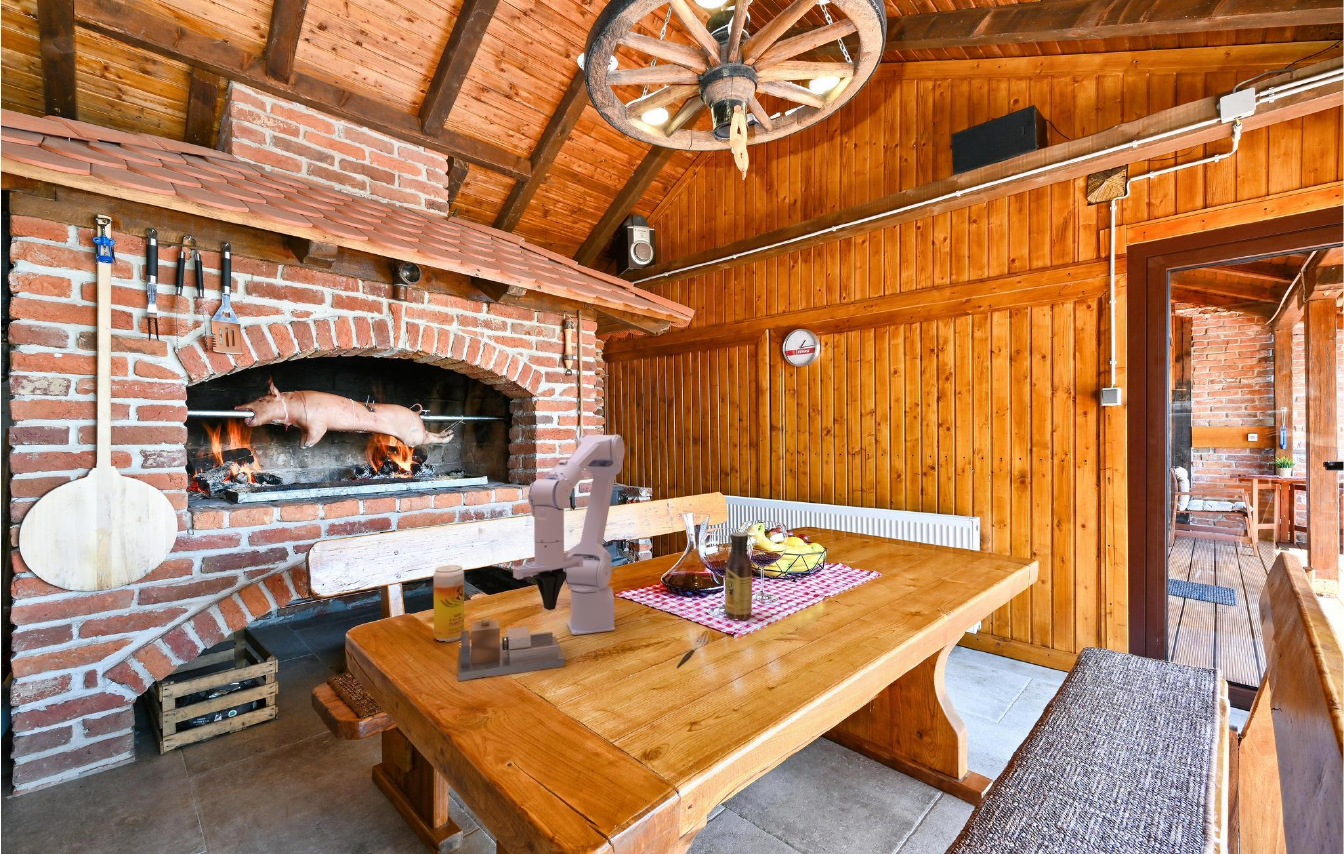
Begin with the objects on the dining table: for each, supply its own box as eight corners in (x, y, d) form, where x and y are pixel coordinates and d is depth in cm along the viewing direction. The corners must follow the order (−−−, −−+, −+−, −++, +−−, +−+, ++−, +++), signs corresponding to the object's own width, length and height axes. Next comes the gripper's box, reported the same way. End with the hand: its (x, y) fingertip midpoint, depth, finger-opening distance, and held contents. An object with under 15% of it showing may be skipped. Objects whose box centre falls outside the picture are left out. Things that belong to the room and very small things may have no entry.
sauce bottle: (723, 613, 143) (723, 530, 143) (748, 612, 144) (748, 530, 143) (728, 622, 137) (728, 536, 136) (754, 621, 137) (754, 535, 137)
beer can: (454, 644, 124) (453, 572, 124) (428, 641, 125) (427, 570, 125) (469, 633, 130) (469, 565, 130) (444, 631, 131) (444, 563, 131)
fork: (670, 669, 112) (670, 658, 112) (698, 639, 127) (698, 630, 127) (683, 671, 111) (683, 660, 111) (710, 641, 126) (710, 632, 126)
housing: (498, 649, 117) (498, 613, 117) (499, 659, 112) (499, 621, 112) (471, 653, 115) (471, 616, 115) (471, 663, 110) (471, 624, 110)
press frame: (555, 643, 124) (555, 617, 124) (564, 666, 113) (564, 637, 113) (458, 655, 118) (458, 628, 118) (458, 681, 106) (458, 650, 106)
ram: (527, 643, 119) (527, 626, 119) (530, 655, 113) (530, 636, 113) (501, 646, 117) (501, 629, 117) (503, 658, 112) (503, 640, 112)
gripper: (570, 532, 125) (570, 596, 125) (505, 541, 115) (506, 611, 116) (588, 537, 120) (589, 604, 120) (523, 547, 110) (523, 620, 110)
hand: (549, 608), depth 118 cm, fingers closed
